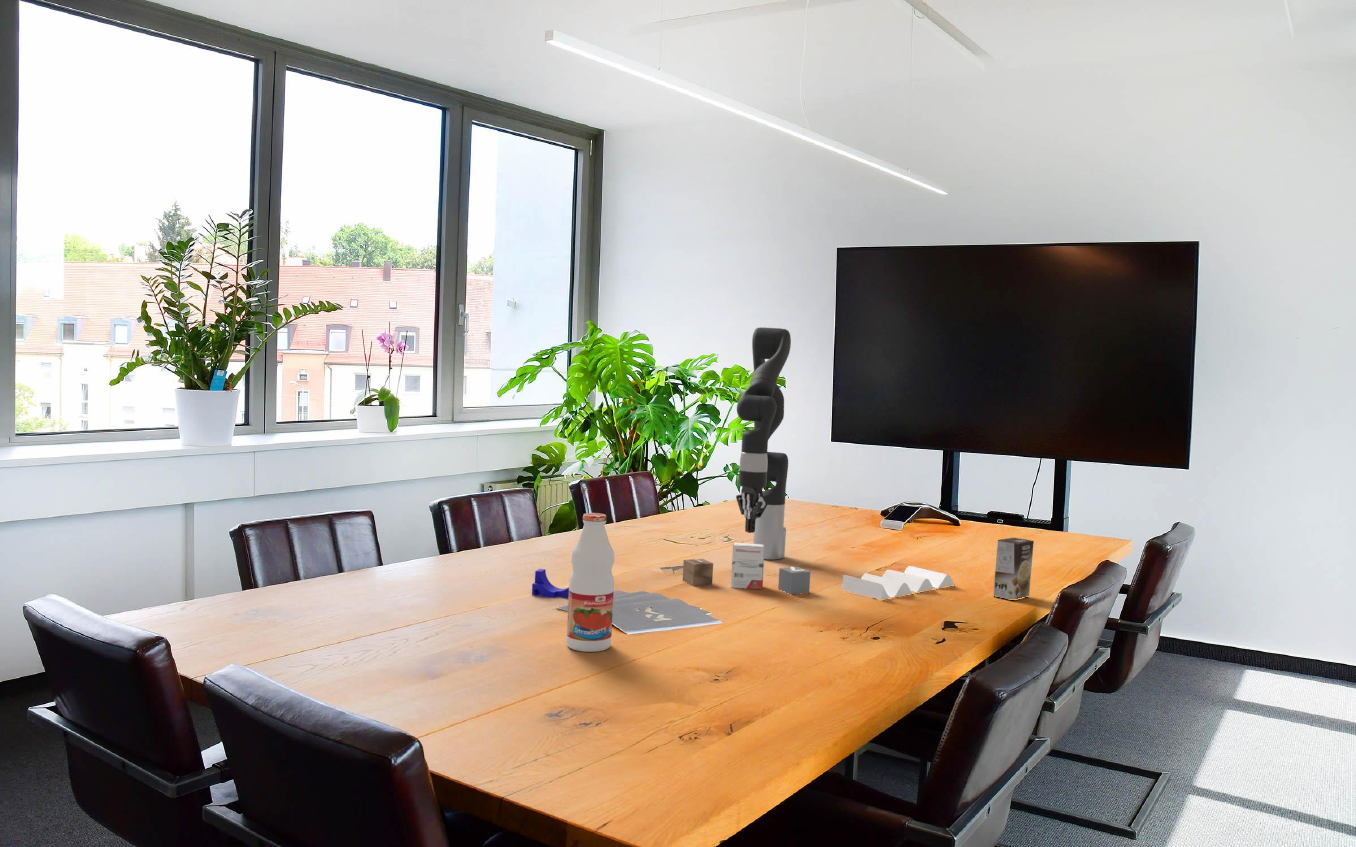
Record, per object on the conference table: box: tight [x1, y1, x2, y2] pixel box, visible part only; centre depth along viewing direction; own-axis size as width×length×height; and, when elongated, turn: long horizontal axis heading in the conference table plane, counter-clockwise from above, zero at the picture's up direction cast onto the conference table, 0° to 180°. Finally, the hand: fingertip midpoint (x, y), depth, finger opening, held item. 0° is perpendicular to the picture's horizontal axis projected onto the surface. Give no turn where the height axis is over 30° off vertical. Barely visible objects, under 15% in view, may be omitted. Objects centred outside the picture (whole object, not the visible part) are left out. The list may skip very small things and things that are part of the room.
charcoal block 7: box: [777, 566, 811, 595], centre depth 267 cm, size 6×6×6 cm
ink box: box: [730, 542, 765, 591], centre depth 269 cm, size 9×5×12 cm, turn 84°
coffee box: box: [992, 537, 1035, 599], centre depth 273 cm, size 9×6×16 cm
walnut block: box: [682, 558, 714, 587], centre depth 271 cm, size 6×6×6 cm
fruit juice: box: [566, 512, 615, 653], centre depth 207 cm, size 9×9×28 cm
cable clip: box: [531, 568, 569, 599], centre depth 249 cm, size 12×4×6 cm, turn 74°
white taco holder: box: [841, 565, 955, 600], centre depth 278 cm, size 13×35×5 cm, turn 131°
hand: (749, 532), depth 269 cm, fingers closed
